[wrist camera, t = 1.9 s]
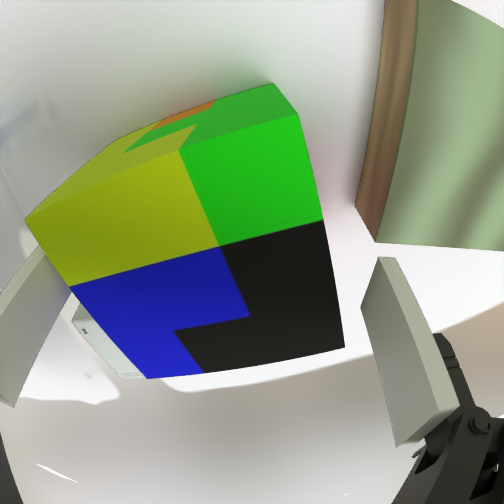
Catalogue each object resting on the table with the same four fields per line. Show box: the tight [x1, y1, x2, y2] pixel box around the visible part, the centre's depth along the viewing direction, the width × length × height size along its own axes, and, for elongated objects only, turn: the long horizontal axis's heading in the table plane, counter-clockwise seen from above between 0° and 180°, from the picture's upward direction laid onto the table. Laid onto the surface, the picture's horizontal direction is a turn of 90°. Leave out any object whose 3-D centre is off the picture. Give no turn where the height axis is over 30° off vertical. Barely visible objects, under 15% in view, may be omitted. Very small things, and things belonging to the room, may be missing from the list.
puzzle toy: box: [25, 83, 345, 379], centre depth 15 cm, size 10×10×10 cm
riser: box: [355, 0, 504, 251], centre depth 14 cm, size 14×14×4 cm
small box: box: [72, 303, 145, 379], centre depth 24 cm, size 8×8×5 cm
